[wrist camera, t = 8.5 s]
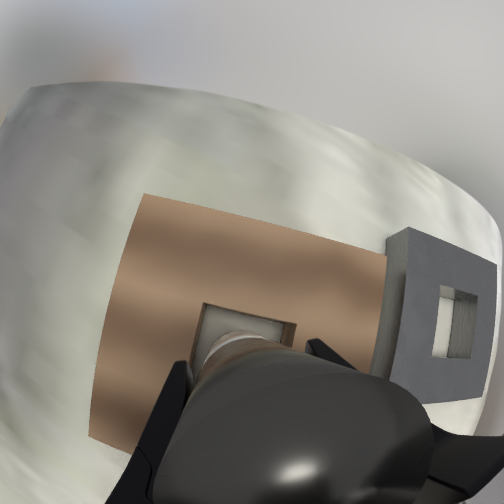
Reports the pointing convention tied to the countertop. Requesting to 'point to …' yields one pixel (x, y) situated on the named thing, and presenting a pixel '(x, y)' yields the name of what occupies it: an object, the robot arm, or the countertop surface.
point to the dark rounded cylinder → (293, 432)
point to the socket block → (435, 318)
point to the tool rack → (221, 301)
